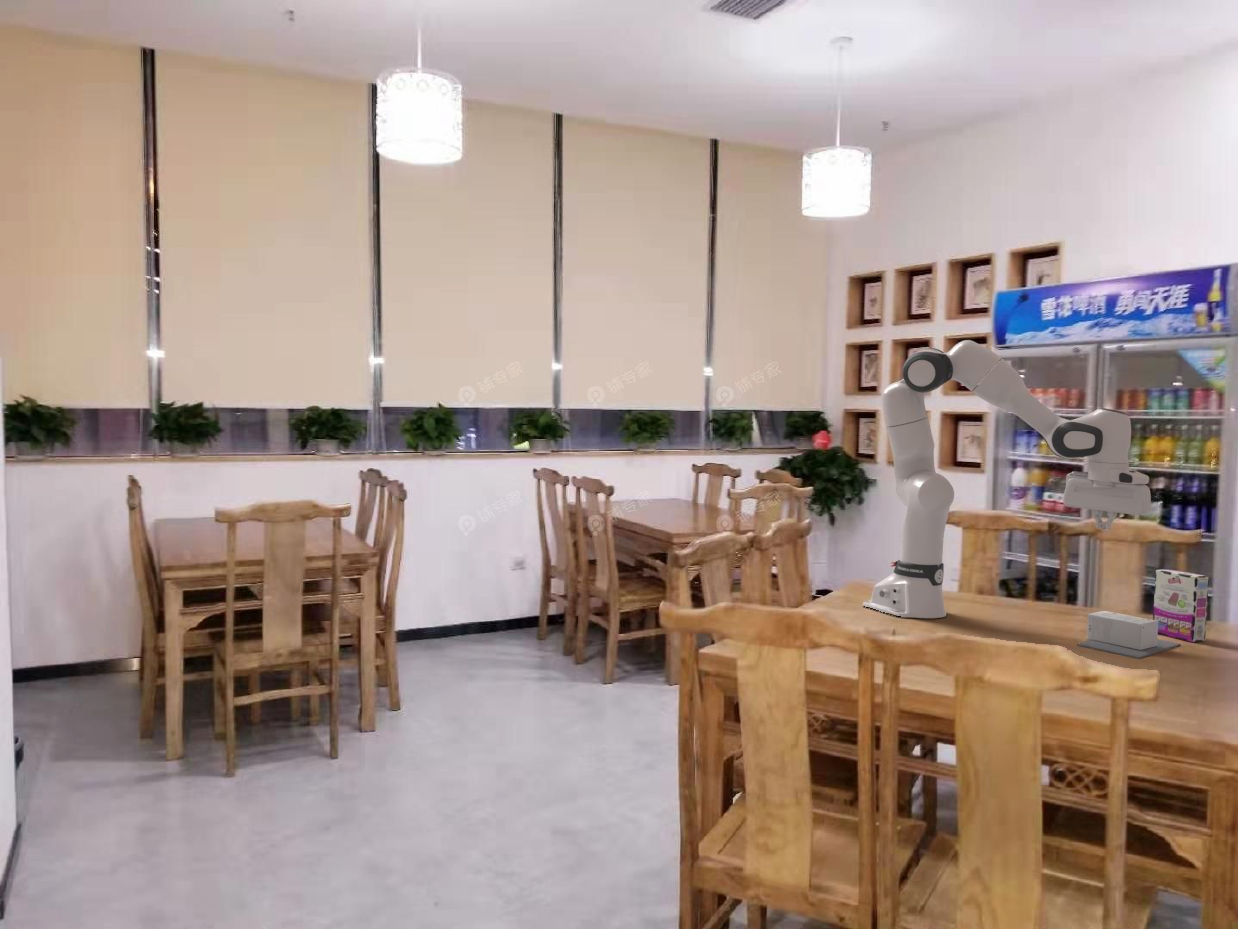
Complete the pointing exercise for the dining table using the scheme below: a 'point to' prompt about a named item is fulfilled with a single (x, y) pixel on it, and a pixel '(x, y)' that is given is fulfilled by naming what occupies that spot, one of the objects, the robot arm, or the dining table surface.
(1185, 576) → the candy bar box
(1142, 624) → the small box
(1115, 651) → the mat
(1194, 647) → the dining table surface
